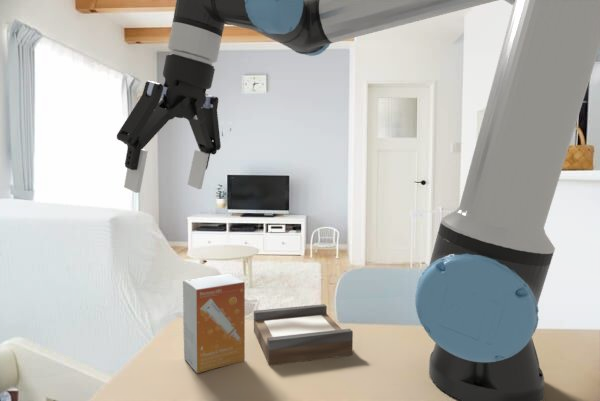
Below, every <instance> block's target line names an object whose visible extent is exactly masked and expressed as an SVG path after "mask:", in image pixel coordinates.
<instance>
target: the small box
mask: <svg viewBox="0 0 600 401" xmlns="http://www.w3.org/2000/svg"><path fill="white" fill-rule="evenodd" d="M245 286H246V284H245V281H244V280H241V279H240V278H238V277H236V276H235V275H232V274H231V273H224V274H219V275H218V274H217V275H208V276H202V277H198V278H193V279H191V278H190V279H186V280H182V297H183V299H182V300H183V301H182V303H183V304H182V307H183V308H182V310H183V316H182V317H183V319H182V320H183V359H185V362H187V363H188V364H189V366H190V367H191V368H192V369H193V370H194V371H195V372H196V373H197V374H200V373H203V372H207V371H210V370H214V369H217V368H221V367H225V366H228V365H232V364H236V363H241V362H245V355H246V354H245V350H246V349H245V348H246V347H245V342H246V338H245V337H246V336H245V335H246V333H245V332H246V330H245V327H246V325H245V324H246V322H245V320H246V319H245V318H246V316H245V312H246V311H245V310H246V309H245V303H246V302H245V299H246V297H245V294H246V293H245V290H246V289H245Z"/></svg>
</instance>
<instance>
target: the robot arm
mask: <svg viewBox="0 0 600 401" xmlns="http://www.w3.org/2000/svg"><path fill="white" fill-rule="evenodd" d="M497 1H499V0H176V1H175V2H176V3H175V7H174V12H173V19H172V24H171V28H170V34H169V40H168V45H167V48H168V50H170V51H171V52H170V53H167V55H165V60H164V65H163V71H162V76H163V78H164V83H159V82H156V81H152V80H146V82H145V84H144V87H143V91H142V94H141V96H140V97H139V99H138V101H137V102H136V104H135V105H134V107H133V108H132V110H131V112H130V114H128V116H127V117H126V118H127V119H126V120H125V121H124V123H123V124H122V126H121V127H120V130H118V132H117V135H116V139H117V141H120V142H122V143H123V144H125V145H126V146H127V151H126V156H125V162H124V166H125V168H127V169H126V172H125V173H126V175H125V180H124V185H123V187H124V188H125V189H127V190H129V191H132V192H134V193H141V188H142V183H143V178H144V172H145V169H146V162H147V157H148V150H146V149H144V148H145V147H146V146H147V145H148V143H149V142H150V141H151V140H152V139H154V137H155V136H156V135H157V134H158V133H159V132H160V130H161V129H163V127H164V126H165V125H166V124H167V123H168V122H169V121H171V120H173V119H174V118H178V119H186V120H187V121H188V122H189V125H190V128H191V130H192V134H193V136H194V139H195V141H196V144H197V147H198V149H194V151H193V157H192V161H191V166H190V171H189V176H188V181H187V185H188V186H190V187H193V188H195V189H197V190H202V188H203V183H204V179H205V174H206V171H207V170H208V168H209V162H210V156H211V155H216V154H217V153H218V152H217V151H219V150H220V149H221V146H222V145H221V137H220V126H219V115H218V106H219V97H218V96H214V95H211V94H207V90H209V89H211V88H212V84H213V80H214V75H215V71H216V69H215V66H213V64H215V63H217V62H218V59H219V53H220V52H219V51H220V48H221V42H222V38H223V33H224V28H225V25H227V26H234V27H240V28H243V29H249V30H252V31H254V32H256V33H258V34H260V35H263V36H265V37H266V38H269V39H271V40H273V41H275V42H277V43H279V44H281V45H283V46H285V47H287V48H289V49H291V50H292V51H294V52H295V53H298V54H299V55H300V54H301V55H306V56H309V57H315V56H318V55H320V54H322V53H323V52H325V51H326V50H327V49H328V48H329V47H330V45H331V44H334V43H339V42H342V41H345V40H349V39H353V38H358V37H361V36H365V35H369V34H373V33H376V32H380V31H384V30H388V29H392V28H395V27H399V26H404V25H407V24H412V23H416V22H420V21H423V20H427V19H431V18H434V17H439V16H442V15H446V14H451V13H455V12H459V11H463V10H466V9H470V8H474V7H478V6H481V5H485V4H490V3H493V2H497ZM504 1H505V2H507V3H508V4H510V5H512V9H511V13H510V16H509V21H508V25H507V28H506V31H505V35H504V38H503V39H504V40H503V43H502V46H501V50H500V53H499V56H498V57H499V58H498V61H497V66H496V69H495V73H494V77H493V80H492V85H491V88H490V91H489V95H488V99H487V102H486V106H485V110H484V114H483V118H482V121H481V125H480V128H479V129H480V130H479V132H478V136H477V140H476V143H475V148H474V151H473V156H472V158H471V162H470V166H469V170H468V174H467V176H466V181H465V185H464V188H463V192H462V196H461V200H460V203H459V205H458V206H459V207H458V208H457V209H455V210H454V211H452V212H450V213H448V214H447V215H445V216H443V217H442V218H441V221H440V223H439V227H438V232H437V235H436V239H435V243H434V246H433V250H432V254H431V257H430V260H429V261H430V262H429V264H428V266H427V268H425V269H424V271H423V272H422V274H421V275H420V277H419V279H418V281H417V285H416V290H415V298H414V302H415V303H414V304H415V312H416V314H417V318H418V320H419V322H420V324H421V326H422V327H423V329H424V331H425V332H426V333H427V335H428V337H430V339H431V340H433V342H434V347H433V350H432V352H431V353H430V355H429V362H428V364H429V365H428V372H429V373H428V374H429V378H430V380H431V381H432V383H433V384H434V385H435V386H436V387H437V388H439V389H440V390H441V391H442V392H444V393H445V394H447V395H449V396H451V397H453V398H454V399H457V400H459V401H542V400H543V399H544V395H545V394H544V392H545V376H544V373H543V370H542V369H541V367H540V362H539V358H538V353H537V350H536V347H535V343H534V340H533V335H534V334H535V332H536V331H537V330H536V329H537V328H538V325H539V324H538V323H539V315H538V314H539V307H538V306H539V305H538V304H539V302H540V297H541V295H542V292H543V289H544V285H545V282H546V279H547V276H548V272H549V269H550V266H551V263H552V259H553V256H554V253H555V250H556V248H555V246H554V244H553V243H552V241H551V240H550V238H549V237H548V236H547V233H546V230H545V224H546V222H547V219H548V216H549V212H550V209H551V205H552V202H553V199H554V196H555V194H556V190H557V186H558V182H559V181H560V177H561V174H562V170H563V167H564V164H565V161H566V157H567V154H568V152H569V151H568V150H569V147H570V145H571V141H572V138H573V134H574V131H575V127H576V125H577V122H578V118H579V115H580V112H581V108H582V107H583V106H582V105H583V104H584V103H583V102H584V99H585V96H586V93H587V90H588V87H589V86H588V85H589V83H590V80H591V76H592V74H593V70H594V67H595V64H596V60H597V57H598V54H599V51H600V0H504Z"/></svg>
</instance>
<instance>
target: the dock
mask: <svg viewBox="0 0 600 401" xmlns="http://www.w3.org/2000/svg"><path fill="white" fill-rule="evenodd" d="M327 308H328V306H327V305H326V304H324V303H321V304H314V305H313V304H312V305H301V306H291V307H281V308H268V309H261V310H260V309H258V310H253V333H254V335H255V338H256V340H257V342H258V344H259V347H260V348H261V351H262V353H263V356H264V358H265V360H266V363H267V365H268V366H277V365H283V364H284V365H285V364H291V363H299V362H305V361H306V362H308V361H314V360H322V359H323V360H324V359H329V358H337V357H345V356H347V357H348V356H353V344H354V343H353V337H354V336H353V334H354V332H353V330H352V329H351V328H344V329H342V328H341V327H340V326H339V325H338V324H337V323H336V321H335V320H333V319H332V317H330V316H329V315H328V314H327Z"/></svg>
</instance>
